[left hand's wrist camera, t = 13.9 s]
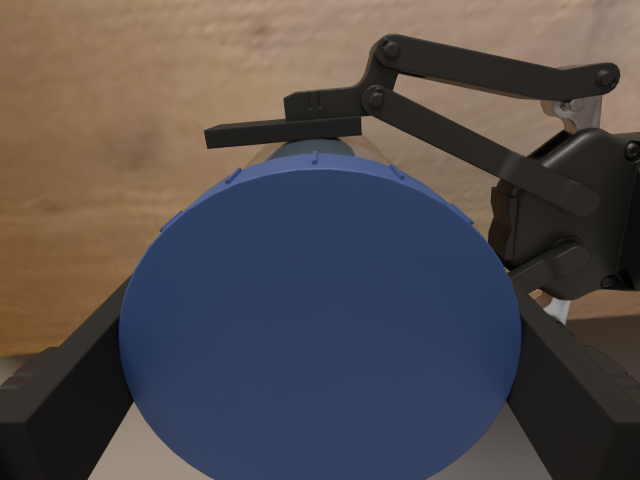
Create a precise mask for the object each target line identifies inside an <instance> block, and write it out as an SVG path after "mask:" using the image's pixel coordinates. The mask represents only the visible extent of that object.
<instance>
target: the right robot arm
mask: <svg viewBox="0 0 640 480" xmlns="http://www.w3.org/2000/svg"><path fill="white" fill-rule="evenodd" d="M398 74H402V75H407V76H412V77H417V78H422V79H426V80H431V81H436V82H441V83H445V84H450V85H455V86H460V87H464V88H469V89H474V90H479V91H484V92H488V93H493V94H498V95H503V96H507V97H512V98H519V99H531V100H541V106H542V109H543V112H544V113H545V114H546V115H548V116H552V117H558V118H560V119H561V120H562V121H563V123H564V126H565V129H564V130H562V131H560V132H559V133H558V134H556V135H555V136H554V137H552V138H551V139H550V140H548V141H547V142H546V143H544V144H543V145H542V146H540V147H539V148H538V149H536V150H535V151H534V152H532V153H531V154H530V155H528V156H527V157H525V156H523V155H520V154H518V153H516V152H513V151H511V150H509V149H507V148H505V147H503V146H501V145H499V144H497V143H495V142H493V141H491V140H489V139H487V138H485V137H483V136H481V135H479V134H477V133H475V132H473V131H471V130H469V129H467V128H465V127H463V126H461V125H459V124H457V123H455V122H453V121H451V120H449V119H447V118H445V117H443V116H441V115H439V114H437V113H435V112H433V111H431V110H429V109H427V108H425V107H423V106H421V105H419V104H417V103H415V102H413V101H411V100H409V99H407V98H405V97H403V96H401V95H399V94H397V93H395V92H393V88H394V85H395V82H396V78H397V75H398ZM619 79H620V70H619V69H618V67H617V66H616V65H615V64H613V63H597V64H585V65H574V66H566V67H560V68H551V67H546V66H542V65H537V64H533V63H528V62H523V61H519V60H514V59H509V58H505V57H500V56H496V55H491V54H486V53H482V52H477V51H472V50H468V49H463V48H459V47H454V46H449V45H445V44H440V43H435V42H431V41H426V40H422V39H417V38H412V37H408V36H403V35H398V34H388V35H386V36H384V37H382V38H381V39H380V40H379V41H377V42H376V43H375V44H374V45H373V46H372V47H371V50H370V52H369V59H368V63H367V66H366V70H365V73H364V76H363V78H362V79H361V80H360V82H358V83H357V84H356V85H354V86H351V87H344V88H333V89H322V90H311V91H300V92H294V93H292V94H291V95H289V96H287V97H285V98H284V107H285V116H286V119H278V120H267V121H256V122H245V123H233V124H222V125H217V126H215V127H212V128H209V129H207V130H204V133H205V139H206V144H207V149H211V148H222V147H234V146H245V145H257V144H268V143H279V142H291V141H302V140H314V139H325V138H337V137H348V136H359V135H362V131H361V116H373V117H375V118H377V119H379V120H381V121H384V122H386V123H388V124H390V125H392V126H394V127H396V128H398V129H400V130H402V131H404V132H406V133H408V134H410V135H412V136H414V137H416V138H418V139H420V140H423V141H425V142H427V143H429V144H431V145H433V146H435V147H437V148H439V149H441V150H443V151H445V152H447V153H449V154H451V155H453V156H455V157H457V158H459V159H462V160H464V161H466V162H468V163H470V164H472V165H474V166H476V167H478V168H480V169H482V170H484V171H486V172H488V173H490V174H492V175H494V176H496V177H498V178H500V180H499V182H498V184H497V187H492V191H491V205H492V210H493V215H494V218H493V221H492V223H491V226H490V229H489V235H488V244H489V245H490V246H491V248H492V249H493V251H494V252H495V254H496V255H497V256H498V258H499V259H500V261H501V263H502V265H503V267H504V266H505V267H506V268H507V269H508V270H509V271H510V272H508V273H507V274H508V275H509V276H510V277H511V278H512V279H513V280H514V281H515V282H516V283H517V284H518V285H519V286H521V287H522V288H523V289H524V290H525V291H526V292H527V293H528V294H529V293H530V292H532V291H534V290H536V289H540V290H542V291H543V292H542V294H541V295H540V296H539V297H538V298H536V299H534V300H535V301H536V302H537V303H538V304H539V305H540V306H541V307H542V308H543V309H544V310H545V311H546V312H547V313H548V314H549V315H550V316H551V317H552V318H553V319H554V320H555V321H556V322H557V323H558V324H559V325H560V326H561V327H562V328H563V329H564V330H565V331H566V332H567V333H568V334H569V335H570V336H571V337H572V338H573V339H574V340H575V335H574V334H573V332H572V331H571V330H570V329H568V328H567V327H566V325H565V324H566V320H567V316H568V312H569V307H570V303H571V300H575V299H578V298H580V297H582V296H584V295H586V294H588V293H590V292H593V291H596V290H600V289H608V290H621V291H640V132H634V133H622V134H610V133H608V132H607V131H605V130H603V129H600V128H599V127H600V116H601V104H602V95H604V94H607V93H609V92H611V91H612V90H613V89H614V88H615V87H616V85H617V84H618V82H619Z"/></svg>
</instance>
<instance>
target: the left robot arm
mask: <svg viewBox="0 0 640 480" xmlns="http://www.w3.org/2000/svg"><path fill="white" fill-rule="evenodd" d="M132 275H133V274H132ZM132 275H131V276H130V277H129V278H128V279H127V280H126V281H125V282H124V283H123V284H122V285H121V286H120V287H119V288H118V289H117V290H116V291H115V292H114V293H113V294H112V295H111V296H110V297H109V298H108V299H107V300H106V301H105V302H104V303H103V304H102V305H101V306H100V307H99V308H98V309H97V310H96V311H95V312H94V313H93V314H92V315H91V316H90V317H89V318H88V319H87V320H86V321H85V322H84V323H83V324H81V325H80V326H79V327H78V328H77V329H76V330H75V331H74V332H73V333H72V334H71V335H70V336H69V337H68V338H67V339H66V340H65V341H64V342H63V343H62V344H61V345H60V346H59V347H49V348H47V349H46V350H44V351H42V352H40V353H39V354H37V355H35V356H34V357H32V358H30V359H29V360H28V361H26V362H25V363H24V364H23V365H22V366H21V367H20V368H19V369H18V370H17V371H16V372H15V373H14V374H13V377H9V378H8V379H7V380H6V381H5V382H4V383H3V384H2V385H1V386H0V480H88V478H89V476H90V474H91V473H92V471H93V469H94V468H95V466H96V464H97V463H98V461H99V459H100V458H101V456H102V454H103V453H104V451H105V449H106V447H107V446H108V444H109V442H110V441H111V439H112V437H113V436H114V434H115V432H116V431H117V429H118V427H119V426H120V424H121V422H122V420H123V419H124V417H125V415H126V414H127V412H128V410H129V409H130V407H131V405H132V404H133V402H134V400H133V398H132V395H131V393H130V390H129V388H128V386H127V383H126V381H125V377H124V372H123V368H122V364H121V359H120V350H119V339H118V337H119V323H120V313H121V309H122V304H123V300H124V296H125V292H126V289H127V287H128V285H129V282H130V280H131V277H132ZM507 275H508V274H507ZM508 277H509V279H510V281H511V283H512V286H513V290H514V293H515V296H516V299H517V303H518V307H519V314H520V321H521V353H520V359H519V364H518V369H517V373H516V377H515V380H514V382H513V385H512V388H511V391H510V394H509V396H508V398H507V399H506V402H507V403H508V405H509V407H510V408H511V410H512V412H513V413H514V415H515V417H516V418H517V420H518V422H519V423H520V425H521V427H522V429H523V430H524V432H525V434H526V435H527V437H528V439H529V440H530V442H531V444H532V445H533V447H534V449H535V450H536V452H537V454H538V456H539V457H540V459H541V461H542V462H543V464H544V466H545V467H546V469H547V471H548V472H549V474H550V476H551V477H552V479H553V480H640V384H639V383H638V382H637V381H636V380H635V379H634V378H633V377H632V376H628V373H627V372H626V371H625V370H624V369H623V368H622V367H621V366H620V365H619V364H618V363H617V362H616V361H615V360H614V359H612V358H611V357H609V356H608V355H606V354H604V353H602V352H601V351H599V350H597V349H596V348H594V347H592V346H580V345H579V344H578V343H577V342H576V341H575V340H574V339H573V338H572V337H571V336H570V335H569V334H568V333H567V332H566V331H565V330H564V329H563V328H562V327H561V326H560V325H559V324H558V323H557V322H556V321H555V320H554V319H553V318H552V317H551V316H550V315H549V314H548V313H547V312H546V311H545V310H544V309H543V308H542V307H541V306H540V305H539V304H538V303H537V302H536V301H535V300H534V299H533V298H532V297H531V296H530V295H529V294H528V293H527V292H526V291H525V290H524V289H523V288H522V287H521V286H519V285H518V284H517V283H516V282H515V281H514V280H513V279H512V278H511V277H510V276H509V275H508Z"/></svg>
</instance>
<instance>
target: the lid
mask: <svg viewBox="0 0 640 480" xmlns="http://www.w3.org/2000/svg"><path fill="white" fill-rule="evenodd" d="M473 223H474V222H473V221H472V220H471V219H470V218H468V217H467V216H466V215H465V214H464V213H463V212H462V211H460V210H459V209H458V208H457V207H456V206H455V205H454V204H451V205H449V204H448V203H447V202H446V201H445V200H444V199H443V198H442V197H440V196H439V195H438V194H436V193H435V192H434V191H432V190H431V189H430V188H429V187H427V186H426V185H425V184H423V183H422V182H420V181H418V180H416V179H414V178H413V177H411V176H409V175H407V174H406V173H404V172H402V171H400V170H398V169H397V168H396V167H395V166H394V165H393V164H390V166H387V165H384V164H382V163H379V162H375V161H371V160H367V159H363V158H359V157H355V156H347V155H338V154H329V153H326V154H317V151H313V154H300V155H293V156H287V157H281V158H275V159H272V160H269V161H266V162H262V163H259V164H256V165H252V166H250V167H248V168H246V169H243V170H241V168H238V169H237V170H236V171H235V172H234V173H233V174H232V175H230V176H229V177H227V178H225V179H224V180H222V181H221V182H219V183H218V184H216V185H214V186H213V187H211V188H210V189H208V190H207V191H206V192H205V193H204V194H203V195H201V196H200V197H199V198H198V199H197V200H196V201H194V202H193V203H192V204H191V205H190V206H189V207H188V208H187V209H186V210H184V211H182V210H181V211H180V212H179V213H178V214H177V215H176V216H174V217H173V218H172V219H171V220H170V221H169V222H168V223H167V224H165V225H164V226H163V227H162V228H161V229H160V230H159V231H160V232H161V234H160V235H159V236H158V237H157V238H156V239H155V241H154V242H153V243H152V244H151V245H150V246H149V248H148V249H147V251H146V252H145V254H144V255H143V257H142V259H141V260H140V262H139V263H138V265H137V267H136V268H135V270H134V273H133V275H132V277H131V280H130V282H129V285H128V287H127V289H126V292H125V296H124V300H123V304H122V309H121V313H120V323H119V337H118V339H119V350H120V359H121V364H122V368H123V372H124V377H125V381H126V383H127V386H128V388H129V390H130V393H131V395H132V398H133V400H134V402H135V404H136V406H137V407H138V409H139V411H140V412H141V414H142V416H143V417H144V419H145V420H146V422H147V423H148V424H149V426H150V427H151V428H152V430H153V431H154V432H155V433H156V435H157V436H158V437H159V438H160V439H161V440H162V441H163V442H164V443H165V444H166V445H167V446H168V447H169V448H170V449H171V450H172V451H173V452H174V453H175V454H177V455H178V456H179V457H181V458H182V459H183V460H184V461H186V462H187V463H188V464H189V465H191V466H192V467H194V468H196V469H197V470H199V471H200V472H202V473H204V474H205V475H207V476H209V477H210V478H213V479H215V480H425V479H427V478H429V477H431V476H433V475H435V474H436V473H438V472H440V471H441V470H443V469H444V468H446V467H447V466H448V465H450V464H451V463H453V462H454V461H456V460H457V459H458V458H460V457H461V456H462V455H463V454H464V453H465V452H466V451H468V450H469V449H470V448H471V447H472V446H473V445H474V444H475V443H476V442H477V441H478V440H479V439H480V438H481V437H482V435H483V434H484V433H485V432H486V431H487V430H488V428H489V427H490V426H491V424H492V423H493V421H494V420H495V419H496V417H497V416H498V414H499V413H500V411H501V409H502V407H503V405H504V403H505V401H506V399H507V398H508V396H509V394H510V391H511V388H512V385H513V382H514V380H515V377H516V373H517V369H518V364H519V359H520V353H521V321H520V314H519V307H518V303H517V299H516V296H515V293H514V290H513V286H512V283H511V281H510V279H509V277H508V275H507V273H506V271H505V269H504V267H503V265H502V263H501V261H500V259H499V258H498V256H497V255H496V254H495V252H494V251H493V249H492V248H491V246H490V245H489V244H488V242H487V241H486V239H485V238H484V237H483V236H482V235H481V234H480V233H479V232H478V231H477V230H476V229H475V228H474V227H473V226H472V224H473Z"/></svg>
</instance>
